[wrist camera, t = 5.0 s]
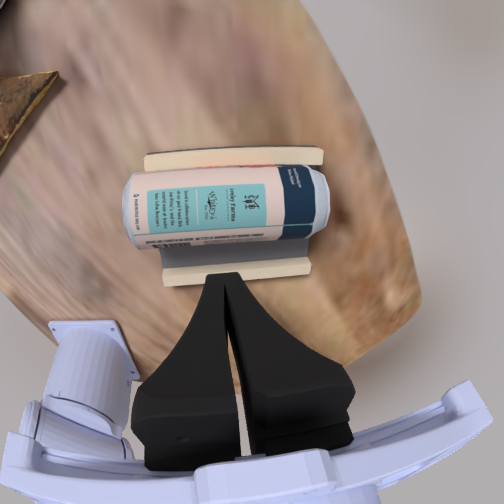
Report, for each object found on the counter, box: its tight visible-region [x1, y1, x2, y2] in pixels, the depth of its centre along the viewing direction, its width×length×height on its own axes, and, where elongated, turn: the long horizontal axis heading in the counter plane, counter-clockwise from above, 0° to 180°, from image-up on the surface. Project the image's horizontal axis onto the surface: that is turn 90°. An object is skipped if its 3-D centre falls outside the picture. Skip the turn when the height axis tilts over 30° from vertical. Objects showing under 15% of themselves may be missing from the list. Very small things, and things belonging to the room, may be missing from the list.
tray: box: [144, 146, 323, 287], centre depth 21 cm, size 10×12×2 cm
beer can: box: [122, 164, 330, 249], centre depth 18 cm, size 5×5×12 cm
